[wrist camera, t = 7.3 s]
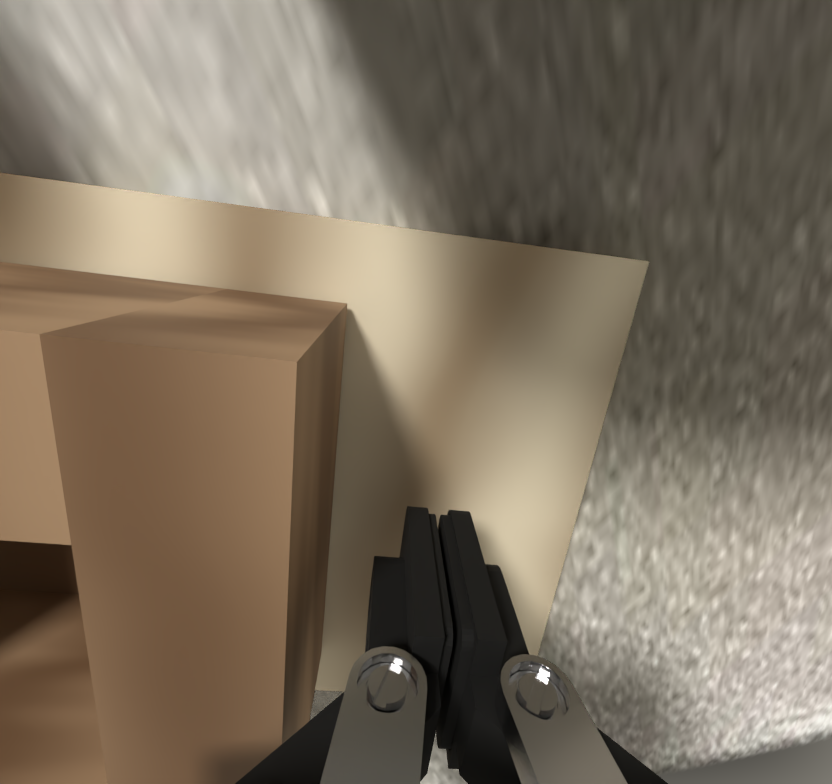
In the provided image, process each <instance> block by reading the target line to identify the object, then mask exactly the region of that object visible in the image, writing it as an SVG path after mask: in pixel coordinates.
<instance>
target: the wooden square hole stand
mask: <svg viewBox="0 0 832 784" xmlns="http://www.w3.org/2000/svg"><path fill="white" fill-rule="evenodd" d="M0 262H7V263H15V264H24V265H32V266H40V267H49V268H57V269H65V270H73V271H82V272H90V273H98V274H107V275H115V276H123V277H132V278H140V279H148V280H157V281H165V282H173V283H182V284H190V285H198V286H207V287H215V288H223V289H232V290H240V291H248V292H257V293H265V294H273V295H282V296H290V297H298V298H307V299H315V300H323V301H332V302H340V303H347V315H346V329H345V342H344V356H343V369H342V383H341V396H340V410H339V423H338V436H337V450H336V463H335V477H334V490H333V504H332V517H331V531H330V544H329V558H328V571H327V585H326V598H325V612H324V625H323V639H322V652H321V659H320V664H319V670H318V675H317V681H316V687H315V690H321V691H344V692H345V688H346V685H347V681H348V677H349V673H350V671H351V669H352V667H353V665H354V663H355V662H356V660H357V659H358V658H359V657H360V656H361V655H362V654H364V653H365V645H366V632H367V618H368V606H369V595H370V586H371V577H372V569H373V561H374V556H385V557H398V558H399V556H400V549H401V542H402V535H403V529H404V522H405V515H406V509H407V506H412V507H424V508H428V511H429V514H435V515H436V521H437V527H438V524H439V519H440V515H447V513H448V511H449V510H459V511H469V512H470V513H471V516H472V520H473V523H474V527H475V530H476V534H477V537H478V541H479V544H480V548H481V551H482V555H483V558H484V562H485V564H490V565H498V566H499V567H500V569H501V571H502V574H503V577H504V580H505V583H506V586H507V589H508V592H509V595H510V598H511V601H512V604H513V607H514V610H515V613H516V616H517V619H518V622H519V625H520V628H521V631H522V634H523V637H524V640H525V643H526V646H527V649H528V652H529V655H535V656H538V652H539V649H540V645H541V642H542V638H543V635H544V631H545V628H546V624H547V620H548V617H549V613H550V610H551V606H552V603H553V599H554V596H555V592H556V589H557V585H558V582H559V578H560V575H561V571H562V568H563V564H564V560H565V557H566V553H567V550H568V546H569V543H570V539H571V536H572V532H573V529H574V525H575V522H576V518H577V515H578V511H579V508H580V504H581V501H582V497H583V493H584V490H585V486H586V483H587V479H588V476H589V472H590V469H591V465H592V462H593V458H594V455H595V451H596V448H597V444H598V441H599V437H600V434H601V430H602V426H603V423H604V419H605V416H606V412H607V409H608V405H609V402H610V398H611V395H612V391H613V388H614V384H615V381H616V377H617V374H618V370H619V367H620V363H621V359H622V356H623V352H624V349H625V345H626V342H627V338H628V335H629V331H630V328H631V324H632V321H633V317H634V314H635V310H636V307H637V303H638V299H639V296H640V292H641V289H642V285H643V282H644V278H645V275H646V271H647V268H648V264H649V261H643V260H636V259H629V258H621V257H614V256H607V255H599V254H592V253H585V252H577V251H570V250H563V249H555V248H548V247H541V246H533V245H526V244H519V243H512V242H504V241H497V240H490V239H482V238H475V237H468V236H460V235H453V234H446V233H438V232H431V231H424V230H416V229H409V228H402V227H394V226H387V225H380V224H373V223H365V222H358V221H351V220H343V219H336V218H329V217H321V216H314V215H307V214H299V213H292V212H285V211H277V210H270V209H263V208H255V207H248V206H241V205H233V204H226V203H219V202H212V201H204V200H197V199H190V198H182V197H175V196H168V195H160V194H153V193H146V192H138V191H131V190H124V189H116V188H109V187H102V186H94V185H87V184H80V183H73V182H65V181H58V180H51V179H43V178H36V177H29V176H21V175H14V174H7V173H0Z"/></svg>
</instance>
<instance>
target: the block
mask: <svg viewBox="0 0 832 784" xmlns="http://www.w3.org/2000/svg"><path fill="white" fill-rule="evenodd" d="M346 315H347V303H340V302H332V301H323V300H315V299H307V298H298V297H290V296H282V295H273V294H265V293H257V292H248V291H240V290H232V289H223V288H215V287H207V286H198V285H190V284H182V283H173V282H165V281H157V280H148V279H140V278H132V277H123V276H115V275H107V274H98V273H90V272H82V271H73V270H65V269H57V268H49V267H40V266H32V265H24V264H15V263H7V262H0V784H235V783H236V782H237V781H239V780H240V779H241V778H242V777H243V776H245V775H246V774H247V773H248V772H249V771H251V770H252V769H253V768H254V767H255V766H257V765H258V764H259V763H260V762H261V761H263V760H264V759H265V758H266V757H267V756H268V755H270V754H271V753H272V752H273V751H274V750H276V749H277V748H278V747H279V746H280V745H282V744H283V743H284V742H285V741H286V740H288V739H289V738H290V737H291V736H292V735H294V734H295V733H296V732H297V731H298V730H299V729H301V728H302V727H303V726H304V725H305V724H307V723H308V722H309V720H310V714H311V709H312V703H313V698H314V692H315V687H316V681H317V675H318V670H319V664H320V659H321V652H322V639H323V625H324V612H325V598H326V585H327V571H328V558H329V544H330V531H331V517H332V504H333V490H334V477H335V463H336V450H337V436H338V423H339V410H340V396H341V383H342V369H343V356H344V342H345V329H346Z"/></svg>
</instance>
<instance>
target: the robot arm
mask: <svg viewBox="0 0 832 784" xmlns="http://www.w3.org/2000/svg"><path fill="white" fill-rule="evenodd" d="M435 733H436V735H437V744H438V748H439V749H446V750H447V760H448V769H459V774H460V775H461V777H462V778H463V779H464V780H465V781H466V782H467V783H468V784H668V783H666V782H665V781H664V780H663V779H661V778H660V777H659V776H658V775H656V774H655V773H654V772H653V771H651V770H650V769H649V768H647V767H646V766H645V765H644V764H642V763H641V762H640V761H639V760H637V759H636V758H635V757H633V756H632V755H631V754H630V753H628V752H627V751H626V750H625V749H623V748H622V747H621V746H620V745H618V744H617V743H616V742H614V741H613V740H612V739H611V738H609V737H608V736H607V735H606V734H604V733H603V732H602V731H600V730H599V729H598V728H597V727H596V726H595V724H594V722H593V720H592V719H591V717H590V715H589V713H588V711H587V710H586V708H585V706H584V704H583V702H582V700H581V699H580V697H579V695H578V693H577V691H576V690H575V688H574V686H573V684H572V683H571V682H570V680H569V679H568V677H567V676H566V675H565V674H564V673H563V672H562V671H561V670H560V669H559V668H558V667H557V666H556V665H554V664H553V663H551V662H549V661H548V660H546V659H544V658H541V657H538V656H535V655H529V652H528V649H527V646H526V643H525V640H524V637H523V634H522V631H521V628H520V625H519V622H518V619H517V616H516V613H515V610H514V607H513V604H512V601H511V598H510V595H509V592H508V589H507V586H506V583H505V580H504V577H503V574H502V571H501V569H500V567H499V566H498V565H490V564H485V562H484V558H483V555H482V551H481V548H480V544H479V541H478V537H477V534H476V530H475V527H474V523H473V520H472V516H471V513H470V512H469V511H459V510H449V511H448V513H447V515H440V519H439V524H438V527H437V521H436V515H435V514H429V511H428V508H424V507H412V506H407V509H406V515H405V522H404V529H403V535H402V542H401V549H400V556H399V558H398V557H385V556H374V561H373V569H372V577H371V586H370V595H369V606H368V618H367V632H366V645H365V653H364V654H362V655H361V656H360V657H359V658H358V659H357V660H356V662H355V663H354V665H353V667H352V669H351V671H350V673H349V677H348V681H347V685H346V688H345V692H344V693H342V694H341V695H340V696H339V697H338V698H336V699H335V700H334V701H333V702H332V703H330V704H329V705H328V706H327V707H326V708H325V709H323V710H322V711H321V712H320V713H319V714H317V715H316V716H315V717H314V718H313V719H311V720H310V721H309V722H308V723H307V724H305V725H304V726H303V727H302V728H301V729H299V730H298V731H297V732H296V733H295V734H294V735H292V736H291V737H290V738H289V739H288V740H286V741H285V742H284V743H283V744H282V745H280V746H279V747H278V748H277V749H276V750H274V751H273V752H272V753H271V754H270V755H268V756H267V757H266V758H265V759H264V760H263V761H261V762H260V763H259V764H258V765H257V766H255V767H254V768H253V769H252V770H251V771H249V772H248V773H247V774H246V775H245V776H243V777H242V778H241V779H240V780H239V781H237V782H236V783H235V784H420V781H421V780H422V779H423V778H424V776H425V775H426V774H427V771H428V766H429V761H430V757H431V752H432V747H433V742H434V737H435Z"/></svg>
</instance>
